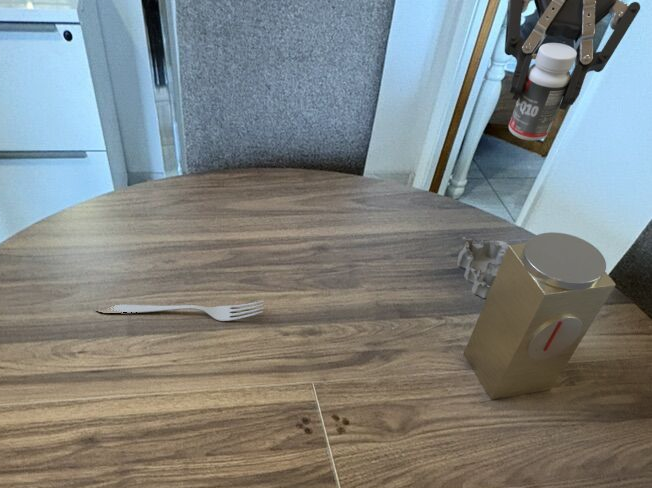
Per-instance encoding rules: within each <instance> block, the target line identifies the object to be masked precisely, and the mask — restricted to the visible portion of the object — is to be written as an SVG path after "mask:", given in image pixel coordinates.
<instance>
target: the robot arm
mask: <svg viewBox="0 0 652 488" xmlns="http://www.w3.org/2000/svg"><path fill="white" fill-rule="evenodd" d="M532 1H533V2H534V5H535V8H536V12H537V15H538V21H537V22H536V24H535V26H534V27H533V29H532V31H531V33H530V34H529V35H528V36H527V38H526V39H524V38H522V37H521V26H522V25H521V24H522V14H524V13H525V12H526V11H527V9H528V6H529V4H530V3H531V2H532ZM640 10H641V4H640V3H639V2H638V1H632V2H631V3H630V4H627V3H626V2H623V1H622V0H507V12H506V26H505V39H504V53H505V55H506V56H512V57H514V58H515V60H516V65H515V68H514V71H513V75H512V76H511V77H512V78H511V80H510V84H509V87H508V89H509V93H510V94H513V95H512V98H511V100H514V101H517V100H518V99H519V97H520V94H521V91H522V88H523V85H524V82H525V79H526V76H527V73H528V70H529V68H530V67H531V63H532V60H533V55H534V54H535V52H536V51H537V50H538V49H539V48H540V47H541V45H542V43H543V42H544V40H545V39H546V37H547V36H548V37H563V38H565V39H567V40H570V41H571V40H572V41H573V49H575V51H576V52H577V55H576V58H575V61H574V66H573V67H574V68H573V69H572V71H571V72H570V81H569V84H568V86H567V89H566V91H565V93H564V96H563V98H562V101H561V103H560V106H559V108H558V110H564V111H566V110H567V109H568V107H569V106H573V105H574V104H575V102H576V101H577V99H578V97H579V96H580V94H581V90H582V87H583V85H584V82H585V79H586V76H587V74H588V73H590V72H595V73H600V72H602V71H603V70H604V68H605V67H606V65H607V64H608V63H609V61H610V59H611V58H612V56H613V54H614V53H615V51H616V50H617V48H618V46H619V45H620V43H621V41H622V40H623V38H624V36H625V34H626V33H627V32H628V30H629V29H630V27H631V25H632V24H633V22H634V20H635V19H636V17H637V16H638V13H639V12H640ZM609 14H610V16H611V20H610V21H609V22H610V23H609V27H610V28H611V30H612V33H611V34H610V36H609V38H608V39H607V41H606V42H605V44H604V45H603V48H602V49H601V51H595V52H594V39H595V33H596V29H595V28H596V27H595V26H596V25H598V23H600V22H601V21H602V20H603V19H605V17H607V16H608V15H609Z"/></svg>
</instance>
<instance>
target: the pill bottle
mask: <svg viewBox="0 0 652 488" xmlns="http://www.w3.org/2000/svg"><path fill="white" fill-rule="evenodd" d="M576 55H577V52H576V51H575V49H574V47H572V46H570V45H568V44H564V43H560V42H547V43H543V44H541V45H540V46H539V47H538V51H537V54H536V56H535V59H534V63H533V64H532V65H530V67H529V70H528V73H527V76H526V79H525V82H524V85H523V88H522V91H521V94H520V97H519V99H518V100H516V103H515V106H514V109H513V112H512V115H511V117H510V120H509V122H508V130H509V132H510V133H511V134H512V135H513V136H514V137H516V138H518V139H520V140H524V141H530V142H531V141H532V142H533V141H541V140H543V139H545V138H547V136H548V135H549V133H550V130H551V128H552V126H553V123H554V121H555V118H556V115H557V113H558V111H559V108H560V105H561V102H562V99H563V96H564V93H565V91H566V89H567V86H568V84H569V81H570V75H571V72H570V70H571V69H572V68H573V67H574V65H575V58H576Z"/></svg>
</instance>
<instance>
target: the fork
mask: <svg viewBox="0 0 652 488" xmlns="http://www.w3.org/2000/svg"><path fill="white" fill-rule="evenodd" d="M264 303H265V300H260V301H256V302H249V303H241V304H233V305H219V306H211V307H210V306H209V307H208V306H204V305H203V306H202V305H196V304H195V305H194V304H183V305H180V304H179V305H155V304H154V305H152V304H151V305H150V304H149V305H148V304H122V305H121V304H120V303H119V304H120V305H115V306H114V307H113V306H112V307H113V308H114V311H116V310H117V311H119V310H120V311H119V312H121V311H122V313H121V314H124V313H123V312H127V313H126V314H138V313H154V312H155V313H156V312H165V311H166V312H167V311H179V310H197V311H201V312H204V313H205V314H207V315H209V317H211V318H213V319H214V320H216V321H219V322H227V321H228V322H230V321H235V320H239V319H244V318H249V317H253V316H257V315H260V314H264V311H263V310H264V309H265V308H264V306H265V304H264ZM112 307H110V308H111V309H112V310H113V308H112ZM108 309H109V308H108ZM112 310H111V311H112ZM131 312H132V313H131ZM136 312H137V313H136Z"/></svg>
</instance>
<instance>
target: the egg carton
mask: <svg viewBox="0 0 652 488" xmlns="http://www.w3.org/2000/svg"><path fill="white" fill-rule="evenodd" d="M461 240H462V241H464V247H463V249H462V250H460V252H459V254H458V258H457V261H456V264H457V267H460V268H463V269H464V270H465V271H464V273H463V278H465V280H466V281H468V282H471V283H473V286H472V288H471V292H472V295H475V296H479V297H481V298H482V299H487V296H488V294H489V291H490V289H491V287H492V284H493V282H494V280H495V277H496V275H497V272H498V270H499V268H500V265H501V263H502V260H503V258H504V256H505V253H506V251H507V249H508V246H509V245H510V244H509V243H508V242H506V241H503V240H493V239H490V240H489V241H485V240H484V239H482V240H480V241H479V243H477V244H473V239H472V238H467V237H466V236H465V235H462V237H461Z"/></svg>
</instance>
